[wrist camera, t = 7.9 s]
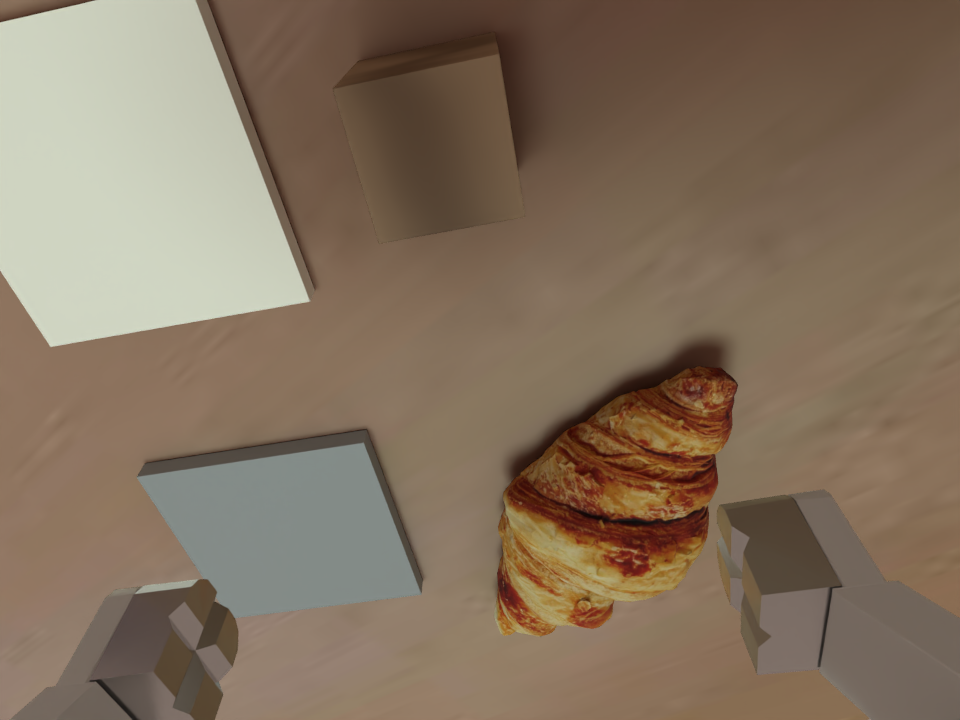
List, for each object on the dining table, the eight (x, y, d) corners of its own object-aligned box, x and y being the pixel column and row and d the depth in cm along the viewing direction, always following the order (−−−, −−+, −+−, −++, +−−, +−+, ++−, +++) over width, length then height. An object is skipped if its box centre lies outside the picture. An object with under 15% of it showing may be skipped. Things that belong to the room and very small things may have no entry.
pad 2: (366, 429, 33) (363, 442, 32) (422, 580, 39) (421, 594, 38) (145, 463, 34) (136, 476, 33) (235, 604, 40) (230, 618, 39)
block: (495, 31, 23) (499, 53, 19) (517, 170, 26) (525, 216, 21) (358, 61, 23) (332, 89, 19) (394, 194, 26) (378, 244, 22)
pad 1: (198, -23, 22) (187, -21, 21) (314, 290, 28) (309, 301, 27) (-120, 51, 23) (-142, 55, 22) (62, 335, 29) (50, 346, 29)
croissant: (541, 568, 44) (604, 681, 39) (413, 594, 38) (468, 732, 33) (731, 326, 33) (853, 442, 28) (592, 311, 27) (716, 455, 22)
